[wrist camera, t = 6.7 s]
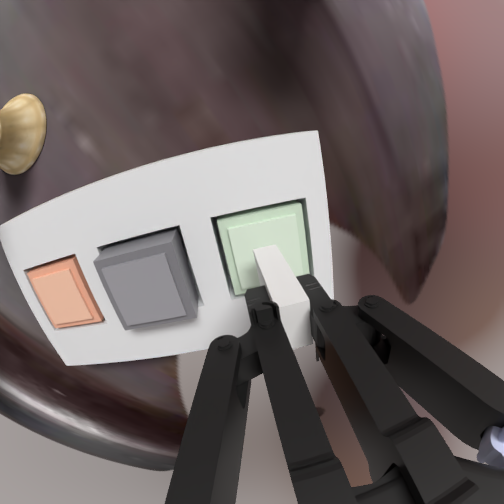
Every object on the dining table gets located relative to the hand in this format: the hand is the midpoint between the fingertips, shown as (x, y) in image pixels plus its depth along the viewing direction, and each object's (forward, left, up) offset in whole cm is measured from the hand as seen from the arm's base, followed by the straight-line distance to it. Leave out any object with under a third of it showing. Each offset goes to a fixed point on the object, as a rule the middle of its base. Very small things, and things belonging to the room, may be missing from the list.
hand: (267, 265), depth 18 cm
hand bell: (-21, +16, -7) cm, 27 cm away
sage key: (0, 0, -5) cm, 5 cm away
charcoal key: (-9, 0, -3) cm, 9 cm away
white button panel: (-9, 0, -7) cm, 11 cm away
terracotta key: (-18, 0, -5) cm, 18 cm away
